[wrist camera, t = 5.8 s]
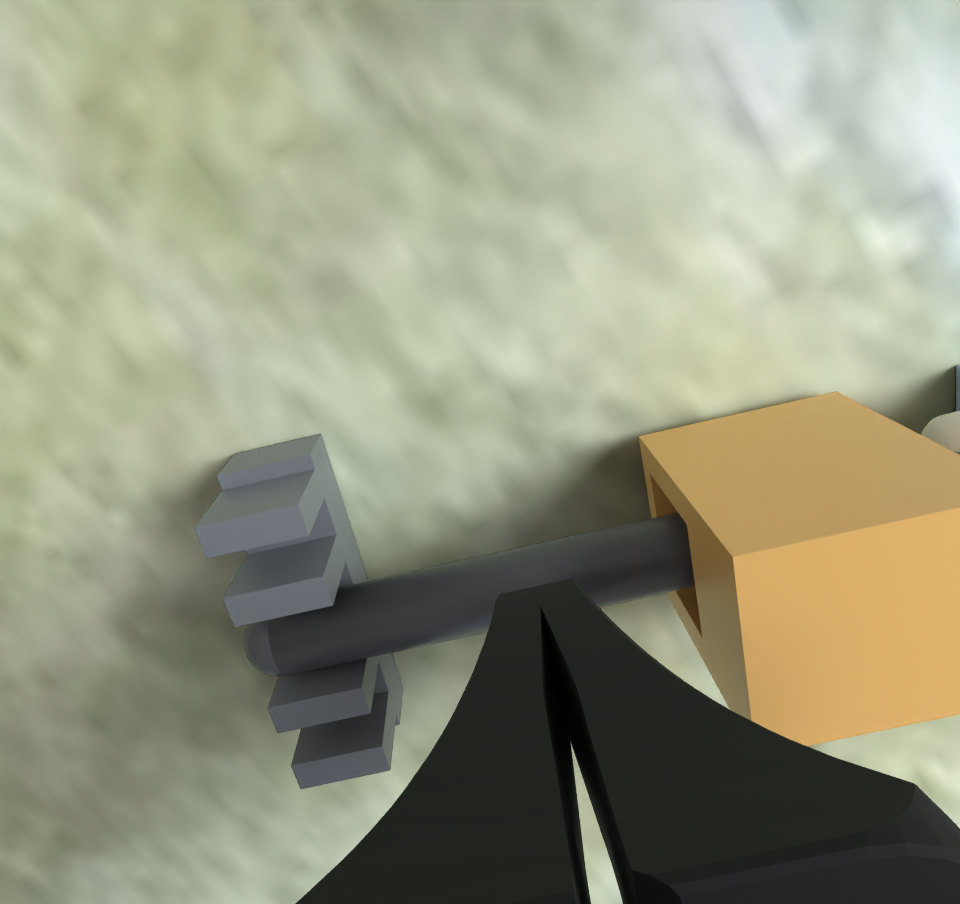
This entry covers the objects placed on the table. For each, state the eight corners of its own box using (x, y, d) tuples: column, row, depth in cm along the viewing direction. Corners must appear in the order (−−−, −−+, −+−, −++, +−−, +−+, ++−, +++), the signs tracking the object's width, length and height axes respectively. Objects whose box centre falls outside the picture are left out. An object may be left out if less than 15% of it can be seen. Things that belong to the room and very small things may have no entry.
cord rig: (315, 706, 17) (283, 829, 13) (220, 456, 14) (156, 531, 11) (1088, 540, 16) (1248, 627, 13) (1112, 251, 14) (1313, 268, 11)
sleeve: (661, 584, 16) (755, 756, 11) (638, 436, 14) (732, 557, 10) (844, 544, 15) (1021, 701, 11) (836, 391, 14) (1030, 492, 9)
